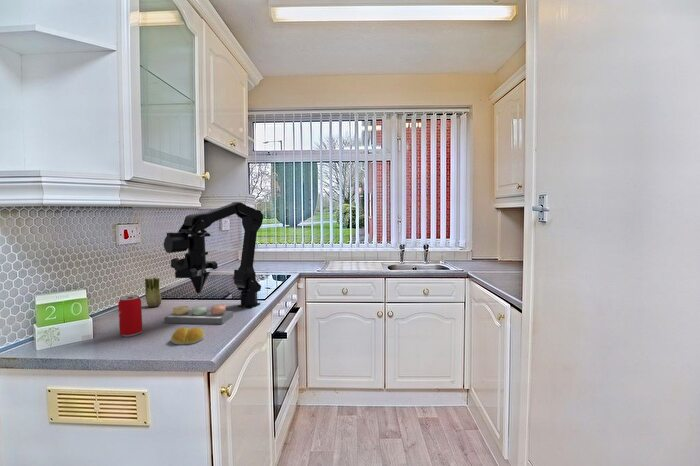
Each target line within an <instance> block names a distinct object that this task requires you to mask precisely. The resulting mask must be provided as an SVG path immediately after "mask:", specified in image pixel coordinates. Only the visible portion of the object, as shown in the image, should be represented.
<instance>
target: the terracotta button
mask: <svg viewBox="0 0 700 466" xmlns="http://www.w3.org/2000/svg"><path fill="white" fill-rule="evenodd" d="M226 308H227V306H226V305H225V304H214V305H211V306H210V311H211V314H221V313H224V312H226V311H227V310H226Z"/></svg>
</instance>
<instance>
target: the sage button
mask: <svg viewBox="0 0 700 466" xmlns="http://www.w3.org/2000/svg"><path fill="white" fill-rule="evenodd" d="M191 310H192V315H195V316H198V315H204V314H206V313H207V311H208V308H207V306H205V305H198V306H194V307H192V308H191Z"/></svg>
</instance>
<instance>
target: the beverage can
mask: <svg viewBox="0 0 700 466" xmlns="http://www.w3.org/2000/svg"><path fill="white" fill-rule="evenodd" d="M117 307H118V325H119V335H120V336H123V337H129V338H130V337H134V336H137V335H140V333H142V332H143V315H142V312H143V310H142V299H141V298H140V296H139V294H138V295H136V294H135V295H134V294H132V295H124V296H121V297H120V298H119V300H118V303H117Z"/></svg>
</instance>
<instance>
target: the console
mask: <svg viewBox="0 0 700 466" xmlns="http://www.w3.org/2000/svg"><path fill="white" fill-rule="evenodd" d="M233 317H234V310H226V312H224V313H221V314H211V310H207V313H206V314H204V315H198V316H195V315H192V309H188V313H187V314H183V315H174V314H173V312H172V313H170V314H168V315H166V316H164V317H163V318H164V320H163V321H164V323H165V324H195V325H196V324H201V325H223V324H225V323H226V322H227V321H229V320H230V319H232V318H233Z"/></svg>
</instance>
